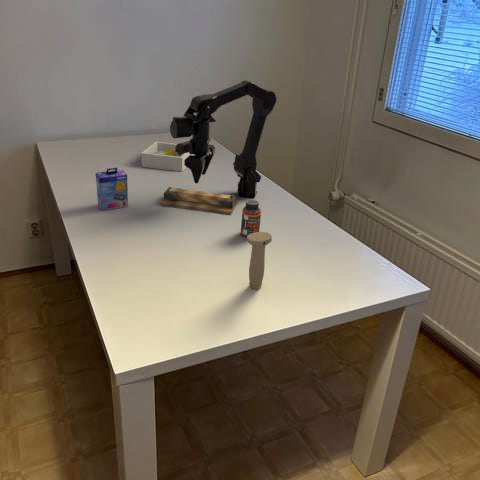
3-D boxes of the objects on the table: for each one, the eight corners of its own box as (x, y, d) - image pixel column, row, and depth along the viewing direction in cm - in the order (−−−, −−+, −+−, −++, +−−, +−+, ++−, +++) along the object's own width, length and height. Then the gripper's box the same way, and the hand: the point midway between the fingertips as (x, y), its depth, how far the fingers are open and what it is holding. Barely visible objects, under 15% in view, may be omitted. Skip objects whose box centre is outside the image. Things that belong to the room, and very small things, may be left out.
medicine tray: (194, 158, 223) (194, 146, 220) (182, 171, 207) (182, 157, 204) (156, 154, 225) (156, 141, 222) (141, 166, 209) (141, 153, 207)
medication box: (153, 164, 214) (153, 155, 212) (149, 161, 216) (149, 153, 213) (175, 158, 222) (175, 149, 220) (171, 156, 223) (171, 147, 221)
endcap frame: (238, 201, 181) (238, 192, 180) (231, 214, 171) (231, 205, 169) (170, 192, 185) (170, 184, 184) (160, 205, 175) (159, 195, 173)
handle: (240, 284, 131) (243, 234, 124) (260, 279, 134) (264, 230, 127) (249, 294, 128) (253, 243, 121) (270, 288, 131) (275, 238, 124)
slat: (230, 203, 177) (230, 195, 176) (228, 206, 175) (228, 198, 173) (171, 195, 181) (171, 187, 179) (169, 198, 178) (169, 190, 177)
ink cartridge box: (101, 211, 168) (98, 171, 161) (97, 205, 172) (93, 165, 165) (129, 206, 172) (127, 167, 165) (124, 201, 176) (122, 162, 170)
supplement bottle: (246, 239, 155) (248, 207, 149) (237, 232, 159) (239, 199, 154) (262, 236, 157) (265, 204, 152) (253, 229, 162) (255, 197, 157)
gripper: (186, 126, 176) (185, 167, 183) (169, 139, 160) (169, 184, 167) (216, 129, 174) (214, 171, 181) (202, 143, 158) (201, 189, 165)
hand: (199, 178), depth 174 cm, fingers open, 9 cm apart
